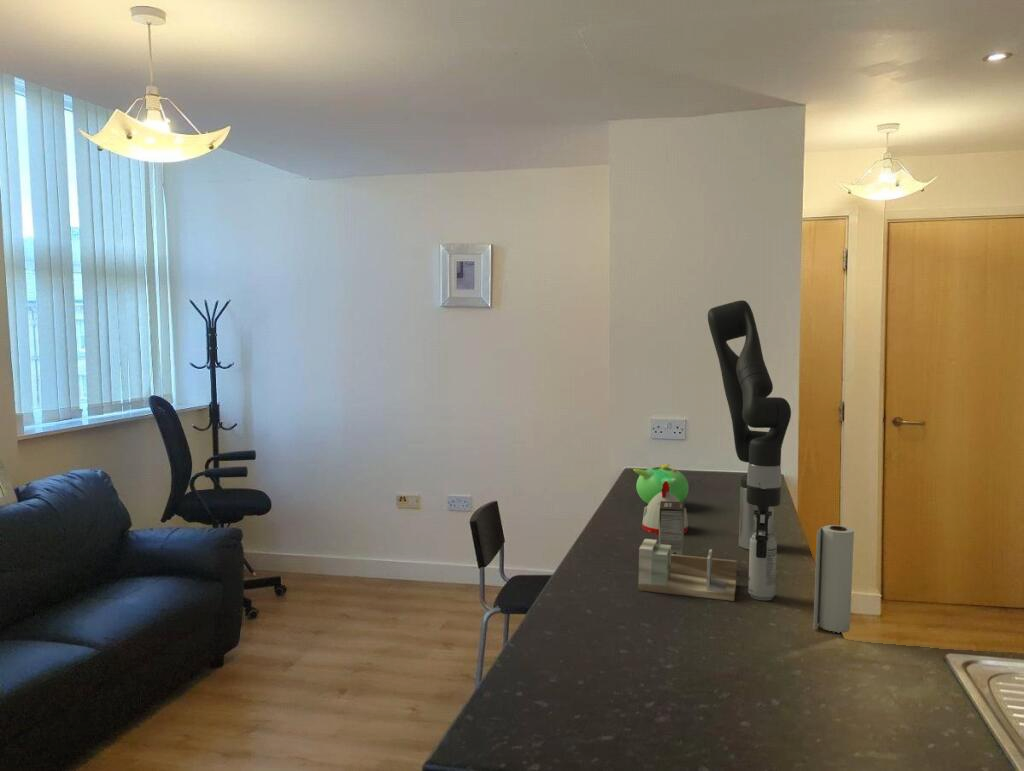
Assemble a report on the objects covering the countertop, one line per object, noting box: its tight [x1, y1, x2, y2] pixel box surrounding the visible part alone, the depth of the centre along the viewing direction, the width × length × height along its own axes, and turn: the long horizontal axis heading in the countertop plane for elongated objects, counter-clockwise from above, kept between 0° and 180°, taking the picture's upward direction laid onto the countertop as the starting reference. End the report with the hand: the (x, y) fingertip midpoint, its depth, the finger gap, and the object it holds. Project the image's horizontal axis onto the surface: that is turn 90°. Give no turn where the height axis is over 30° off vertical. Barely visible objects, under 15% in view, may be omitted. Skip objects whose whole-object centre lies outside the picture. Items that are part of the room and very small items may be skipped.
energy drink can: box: [747, 531, 778, 601], centre depth 181 cm, size 6×6×15 cm
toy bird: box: [632, 463, 690, 505], centre depth 272 cm, size 18×17×15 cm
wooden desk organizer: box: [637, 538, 738, 602], centre depth 188 cm, size 12×22×10 cm, turn 72°
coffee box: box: [658, 501, 685, 555], centre depth 206 cm, size 9×6×16 cm
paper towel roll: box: [812, 524, 855, 634], centre depth 163 cm, size 7×6×21 cm
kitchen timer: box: [641, 481, 689, 535], centre depth 242 cm, size 14×14×15 cm
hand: (761, 552), depth 181 cm, fingers open, 8 cm apart
